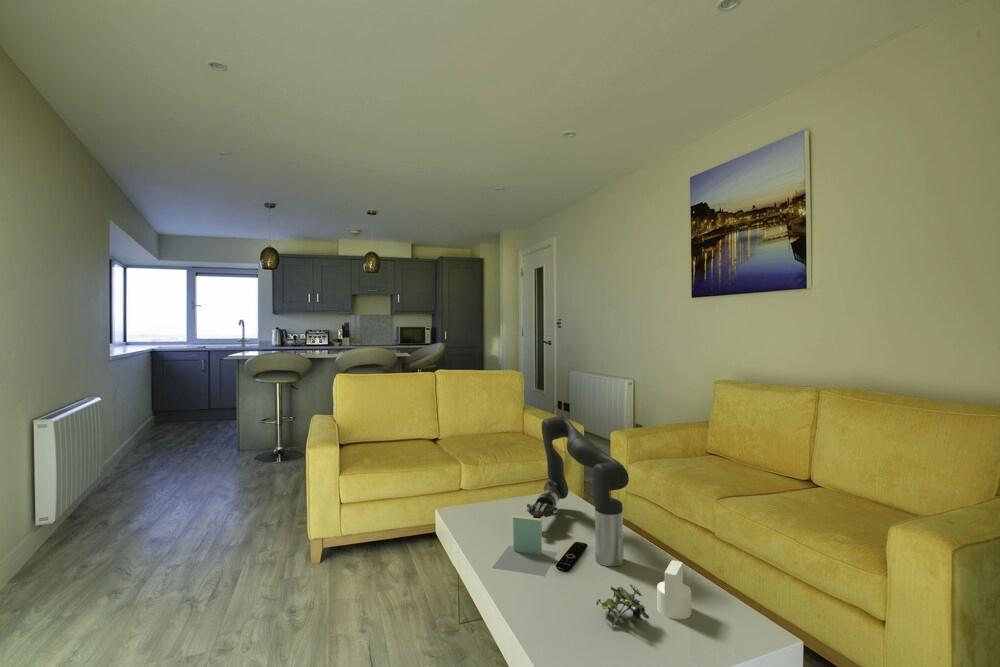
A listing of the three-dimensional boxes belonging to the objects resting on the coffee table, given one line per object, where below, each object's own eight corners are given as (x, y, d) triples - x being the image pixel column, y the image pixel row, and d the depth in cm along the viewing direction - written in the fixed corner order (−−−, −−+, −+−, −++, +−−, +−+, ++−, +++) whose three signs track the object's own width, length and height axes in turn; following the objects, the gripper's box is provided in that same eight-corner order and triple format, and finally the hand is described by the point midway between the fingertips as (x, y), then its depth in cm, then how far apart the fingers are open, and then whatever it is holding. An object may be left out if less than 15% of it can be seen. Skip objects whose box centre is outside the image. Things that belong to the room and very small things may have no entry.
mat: (557, 553, 177) (557, 552, 177) (544, 577, 160) (544, 575, 160) (508, 546, 183) (508, 545, 183) (491, 568, 166) (491, 567, 166)
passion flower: (635, 638, 137) (660, 612, 132) (607, 644, 131) (631, 617, 126) (613, 598, 145) (636, 573, 141) (586, 603, 140) (608, 576, 135)
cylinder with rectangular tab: (687, 622, 135) (687, 578, 135) (653, 613, 139) (653, 570, 139) (694, 607, 142) (693, 564, 142) (661, 598, 147) (661, 557, 147)
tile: (542, 552, 177) (541, 518, 177) (540, 554, 175) (540, 520, 175) (514, 549, 180) (514, 515, 180) (513, 551, 179) (513, 517, 179)
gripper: (531, 491, 208) (519, 505, 191) (563, 494, 203) (553, 509, 187) (531, 509, 208) (519, 525, 192) (563, 513, 204) (553, 529, 187)
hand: (536, 517), depth 189 cm, fingers closed
